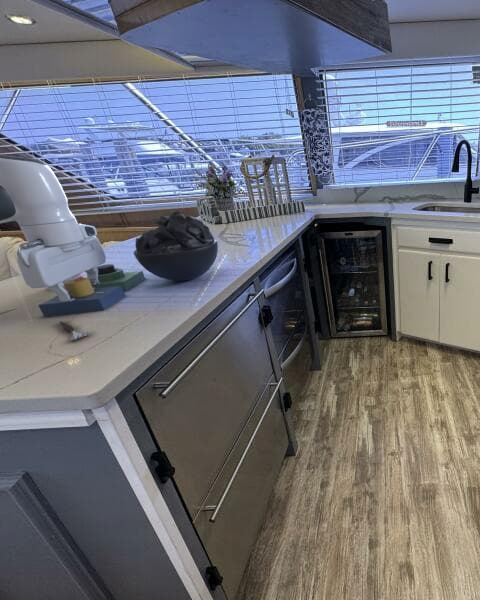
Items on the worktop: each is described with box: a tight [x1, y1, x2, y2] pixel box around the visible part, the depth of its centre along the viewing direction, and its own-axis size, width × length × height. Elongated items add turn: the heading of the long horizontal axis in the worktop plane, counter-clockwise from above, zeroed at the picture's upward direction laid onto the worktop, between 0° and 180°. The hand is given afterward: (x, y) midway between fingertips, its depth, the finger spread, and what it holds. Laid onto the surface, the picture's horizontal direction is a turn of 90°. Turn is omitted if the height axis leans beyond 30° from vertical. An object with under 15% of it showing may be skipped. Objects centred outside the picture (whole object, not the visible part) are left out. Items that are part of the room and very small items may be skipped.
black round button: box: [97, 263, 116, 275], centre depth 88 cm, size 4×4×2 cm
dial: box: [63, 276, 94, 298], centre depth 76 cm, size 4×4×4 cm
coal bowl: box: [133, 210, 219, 282], centre depth 91 cm, size 20×20×19 cm
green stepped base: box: [93, 267, 146, 292], centre depth 89 cm, size 12×10×4 cm
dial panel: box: [38, 286, 126, 318], centre depth 77 cm, size 12×9×3 cm
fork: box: [59, 320, 90, 341], centre depth 65 cm, size 3×16×2 cm, turn 57°
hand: (81, 292), depth 77 cm, fingers open, 8 cm apart
